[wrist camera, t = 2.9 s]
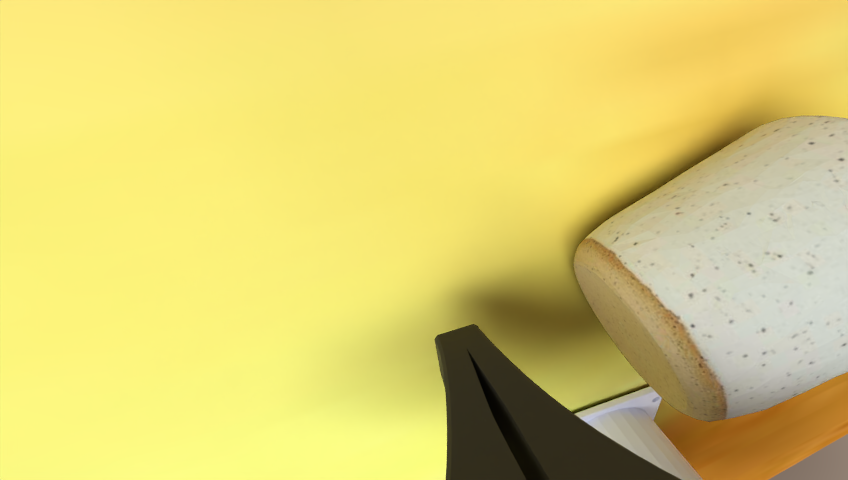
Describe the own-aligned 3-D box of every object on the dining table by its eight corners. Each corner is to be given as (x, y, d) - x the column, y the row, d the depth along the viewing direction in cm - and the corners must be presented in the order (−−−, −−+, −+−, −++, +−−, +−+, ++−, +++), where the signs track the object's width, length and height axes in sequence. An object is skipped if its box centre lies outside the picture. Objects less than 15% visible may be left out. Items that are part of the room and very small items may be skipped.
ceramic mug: (536, 216, 14) (728, 392, 8) (734, 87, 13) (1118, 166, 7) (597, 351, 20) (731, 509, 14) (734, 268, 19) (939, 395, 13)
